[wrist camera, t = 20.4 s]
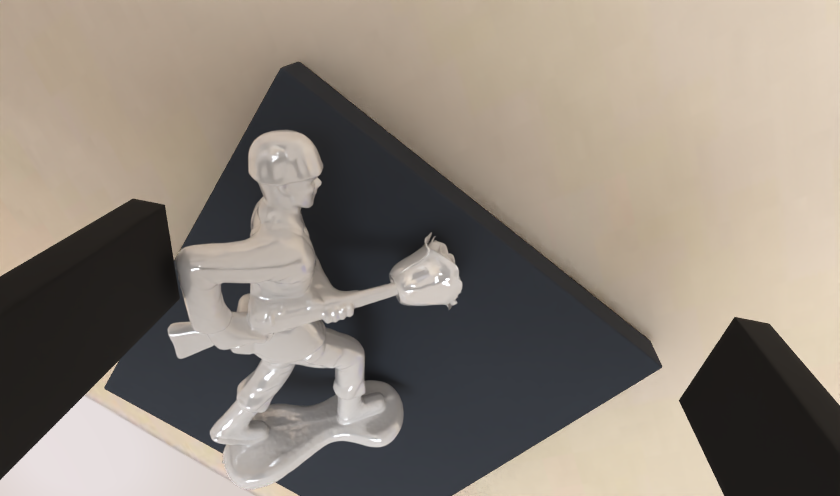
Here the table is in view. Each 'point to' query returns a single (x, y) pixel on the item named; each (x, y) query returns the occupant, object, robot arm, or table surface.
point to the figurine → (294, 322)
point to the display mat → (399, 316)
